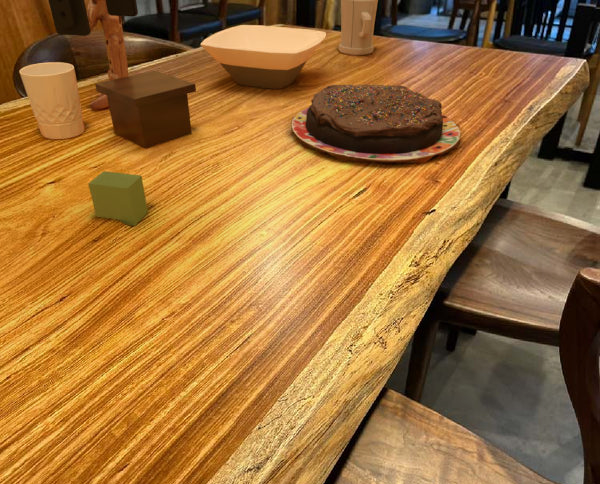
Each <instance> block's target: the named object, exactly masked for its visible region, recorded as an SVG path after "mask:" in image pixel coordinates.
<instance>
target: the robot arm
mask: <svg viewBox="0 0 600 484" xmlns="http://www.w3.org/2000/svg"><path fill="white" fill-rule="evenodd" d="M105 1H106V6H107V11H108V13H109V15H111V16H121V17H131V18H133V17H136V16H138V14H139V9H138V4H137V3H138V2H137V0H105ZM48 5H49V8H50V13H51V17H52V20H53V26H54V29H55V31H56V33H57V34H58V35H60V36H77V37H87V36H89V35H90V34H91V32H92V31H91V29H90V25H89V20H88V15H87V13H88V10H87V6H86V2H85V0H48Z"/></svg>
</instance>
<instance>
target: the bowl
mask: <svg viewBox="0 0 600 484" xmlns="http://www.w3.org/2000/svg"><path fill="white" fill-rule="evenodd" d="M326 36H327V32H326V31H321V30H314V29H308V28H295V27H287V26H286V27H285V26H272V25H260V24H259V25H258V24H257V25H256V24H254V25H253V24H240V25H236V26H232V27H228V28H226V29H224V30H220V31H216V32H215V33H213V34H211V35H209V36H207V37H206V38H205V39H203V40H202V42H201V43H200V44H199V45H200V47H201V48H203V50H205V52H206V53H208V54H209V56H211V57H212V58H213V59H214V60H215V61H216V62H217V63H219V64H220V65H221V66H222V67H223V69H224V70H225V71H226V72H227V73H228V75H229V76H230V77H231V79H233V81H234V82H235V83H236V84H237V85H240V86H245V87H250V88H251V87H252V88H259V89H260V88H261V89H272V90H273V89H274V90H281V89H284V88H286V87H288V86H289V85H291V84H292V83H294V82H295V80H296V79H297V77H298V76H299V74H301V73H300V72H301V71H302V69H303V68H304V67H305V65H306V63H307V62H308V60H309V59H310V58H311V56H312V55H313V54H314V53H315V52H316V50H317V49H318V48H319V47H320V45H321V44H322V43H323V42H324V41H325V39H326Z"/></svg>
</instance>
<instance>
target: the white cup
mask: <svg viewBox="0 0 600 484" xmlns="http://www.w3.org/2000/svg"><path fill="white" fill-rule="evenodd" d="M18 73H19V75H20V79H21V81H22V84H23V87H24V90H25V93H26V96H27V99H28V101H29V105H30V107H31V109H32V114H33V116H34V117H35V119H36V122H37V125H38V129H39V132H40V134H41V136H42V137H44V138H45V139H50V140H65V139H72V138H75V137H77V136H80V135H82V134H84V133H85V122H84V119H83V109H82V103H81V97H80V92H79V85H78V81H77V76H76V70H75V67H74V65H73V64H71V63H68V62H62V61H61V62H60V61H53V62H51V61H50V62H39V63H34V64H28V65H26V66H24V67H22V68H20V69H19V71H18Z"/></svg>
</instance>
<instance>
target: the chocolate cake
mask: <svg viewBox="0 0 600 484" xmlns="http://www.w3.org/2000/svg"><path fill="white" fill-rule="evenodd" d="M310 102H311V104H310V106H308V107H307V108H304V109H302V110H301V111H300V112H297V113H296V114H295V116H293V118H292V120H291V122H290V130H291V131H292V132H293V134H294V135H295V136H296V138H297V139H298V141H299V143H300V144H301V146H302V147H305V148H308V149H309V150H315V151H317V152H319V153H320V154H328V155H329V156H331V157H334V158H335V159H337V160H339V161H340V162H343V163H388V164H390V163H391V164H392V163H395V164H396V163H397V164H426V163H427V162H428V161H429V160H431V159H432V158H434V156H443V155H445V154H447V153H450V152H451V151H453V150H456V149H458V145H459V142H460V139H461V136H462V135H461V131H460V127H459V126H458V125H457V124H456V123H455V122H454V121H453V120H451V119H450V118H449V117H447V116H446V115H444V114H443V111H442V110H443V109H442V108H443V105H442V103H441V101H439V100H436V99H435V98H433V99H432V98H430V97H427V96H425V95H424V94H423V93H421V92H417V91H413V90H412V89H409V88H408V87H406V86H405V85H395V84H392V85H389V84H388V85H384V84H332V85H327V86H326V87H324V88H322V89H321V90H320V91H318V92H316V93H314V95H313V97H312V99H311V100H310Z"/></svg>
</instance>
